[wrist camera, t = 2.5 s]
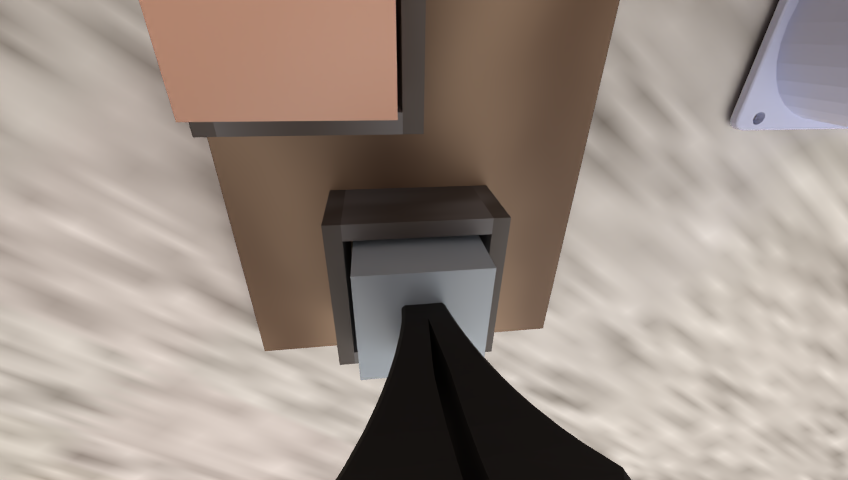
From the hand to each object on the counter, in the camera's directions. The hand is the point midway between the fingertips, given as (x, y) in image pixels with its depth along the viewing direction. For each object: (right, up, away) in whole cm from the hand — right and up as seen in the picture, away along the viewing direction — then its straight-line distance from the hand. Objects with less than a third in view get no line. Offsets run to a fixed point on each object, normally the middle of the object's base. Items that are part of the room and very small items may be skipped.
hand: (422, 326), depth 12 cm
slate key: (0, +2, +3) cm, 3 cm away
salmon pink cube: (-3, +9, -3) cm, 10 cm away
